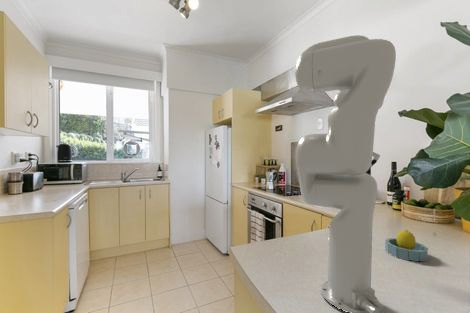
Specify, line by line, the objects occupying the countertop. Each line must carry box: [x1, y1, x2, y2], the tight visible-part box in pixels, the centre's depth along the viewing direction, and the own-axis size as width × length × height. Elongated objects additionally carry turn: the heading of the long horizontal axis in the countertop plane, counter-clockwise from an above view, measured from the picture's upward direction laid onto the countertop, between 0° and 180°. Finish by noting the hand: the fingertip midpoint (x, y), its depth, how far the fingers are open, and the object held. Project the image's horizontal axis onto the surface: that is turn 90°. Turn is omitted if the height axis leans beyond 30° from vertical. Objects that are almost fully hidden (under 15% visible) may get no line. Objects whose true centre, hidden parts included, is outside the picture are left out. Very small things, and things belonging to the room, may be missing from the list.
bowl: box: [384, 237, 429, 262], centre depth 81 cm, size 12×12×4 cm
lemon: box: [396, 229, 417, 250], centre depth 81 cm, size 6×6×8 cm
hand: (351, 177), depth 81 cm, fingers open, 9 cm apart
